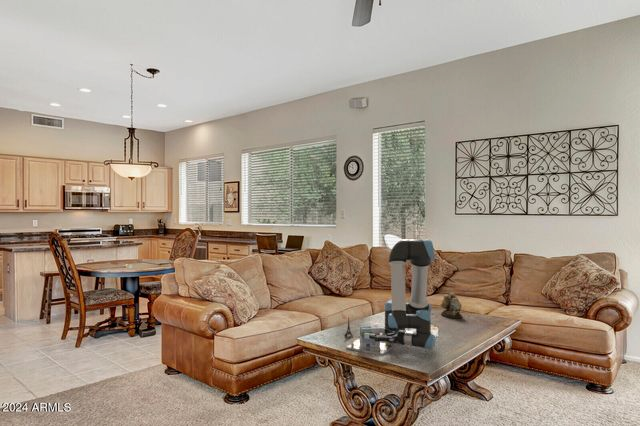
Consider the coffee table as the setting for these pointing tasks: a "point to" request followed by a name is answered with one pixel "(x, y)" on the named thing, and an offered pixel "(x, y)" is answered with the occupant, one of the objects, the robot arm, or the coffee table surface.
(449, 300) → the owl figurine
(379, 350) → the plate
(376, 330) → the light bulb box
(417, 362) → the coffee table surface
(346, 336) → the eiffel tower figurine
